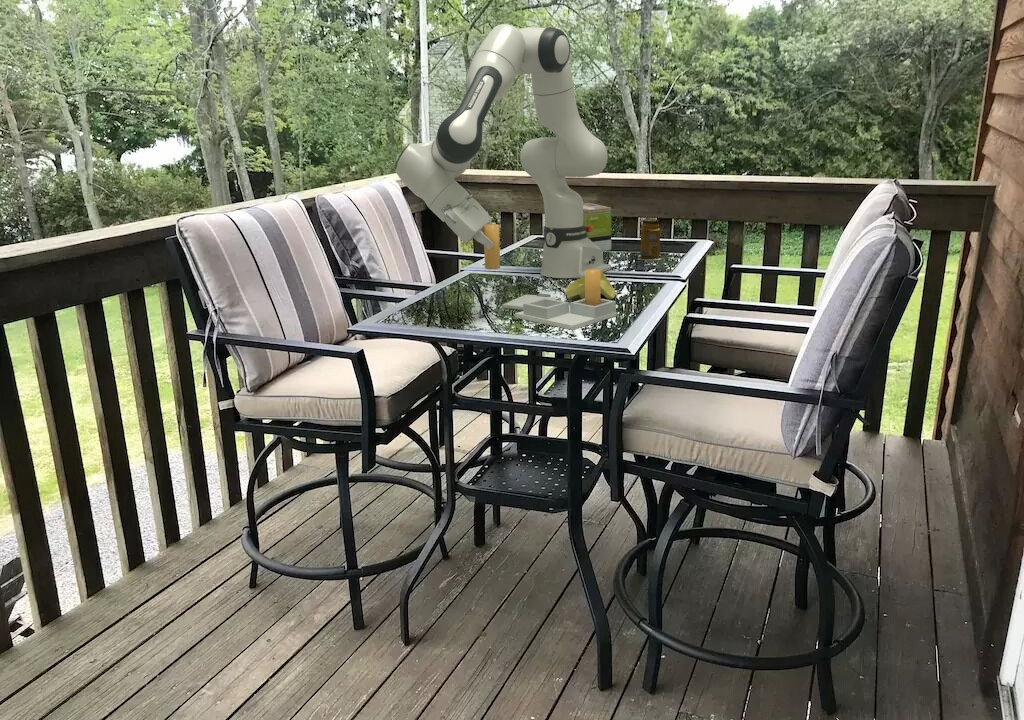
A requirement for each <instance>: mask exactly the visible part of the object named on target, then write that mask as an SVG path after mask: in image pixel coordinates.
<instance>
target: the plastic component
mask: <svg viewBox="0 0 1024 720" xmlns="http://www.w3.org/2000/svg"><path fill="white" fill-rule="evenodd" d="M564 294H565V295H566V296H567V297H568V298H569V299H570V300H572V301H573V300H574V301H575V299H577V298H580V300H581V299H585V276H584V277H582V278H578V279H576V280H575V281H572V282H571V283H569V284H568V286H567V287H566V288H565V290H564ZM616 294H617V292H616V291H615V289H614V286H613V285H612V284H611V282H610V281H609V279H608V278H607V276H606V275H605V274H604V272H602V271H601V295H603V297H605V298H606V300H612V299H614V298H616Z"/></svg>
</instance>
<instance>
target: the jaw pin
mask: <svg viewBox="0 0 1024 720" xmlns="http://www.w3.org/2000/svg"><path fill="white" fill-rule="evenodd" d="M484 235H485V236H486V237H488V238H489V239H491V240H492V241H493V242H494V245H493V247H492V248H491V249H487V248H486V247H485V246H484V245H483V248H484V249H483V250H484V253H483V254H484V269H486V270H498V269H500V268H501V253H500V252H501V251H500V250H501V248H500V225H499V224H497V223H496V224H495V223H489V224H487V225H484Z"/></svg>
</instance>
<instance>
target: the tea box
mask: <svg viewBox="0 0 1024 720" xmlns="http://www.w3.org/2000/svg"><path fill="white" fill-rule="evenodd" d="M583 225H584V226H586V225H588V226H592V227H593V229H592V230H593V232H587V235H588V237H587V238H589V239H590V240H591V241H592V242H593V243H594V244H596V245H597V246H598V247H599V248H600V249H601V250H602V252H606V251H611V250H612V207H610V206H605V205H601V204H597V203H592V202H583Z"/></svg>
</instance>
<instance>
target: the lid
mask: <svg viewBox="0 0 1024 720" xmlns="http://www.w3.org/2000/svg"><path fill="white" fill-rule="evenodd" d="M543 298H548V299H554V300H559V301H561V297H556V296H551V294H549V293H548V294H547V293H539V294H536V295H535V294H527V293H526V294H524V295H521V296H519V297H517V298H514V299H512V300H509V301H508V302H504V303H503V304H501V307H502V308H503V309H511V310H512V309H513V310H520V311H523V304H525V303H528V302H532V301H536V300H539V299H543Z"/></svg>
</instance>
